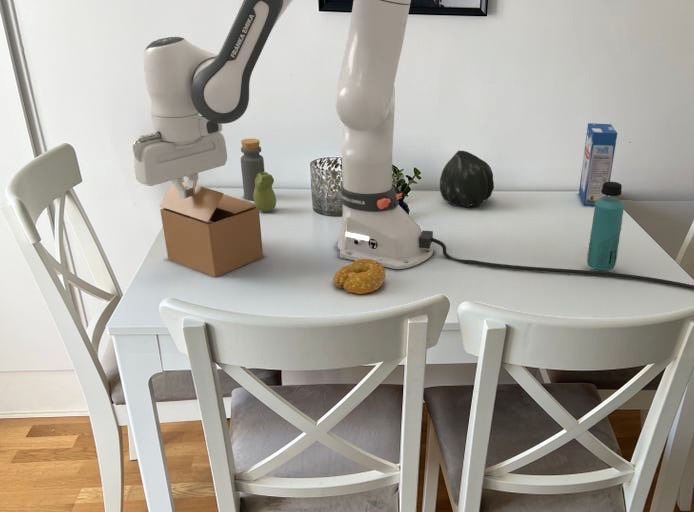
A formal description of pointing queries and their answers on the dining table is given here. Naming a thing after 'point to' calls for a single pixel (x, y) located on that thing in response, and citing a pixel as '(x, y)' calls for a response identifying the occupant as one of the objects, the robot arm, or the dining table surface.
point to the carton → (215, 237)
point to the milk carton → (597, 162)
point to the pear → (264, 192)
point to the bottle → (250, 165)
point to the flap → (193, 202)
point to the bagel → (360, 276)
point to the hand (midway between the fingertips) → (187, 196)
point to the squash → (466, 180)
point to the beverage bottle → (606, 228)
